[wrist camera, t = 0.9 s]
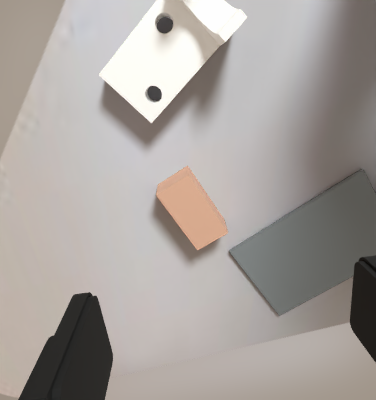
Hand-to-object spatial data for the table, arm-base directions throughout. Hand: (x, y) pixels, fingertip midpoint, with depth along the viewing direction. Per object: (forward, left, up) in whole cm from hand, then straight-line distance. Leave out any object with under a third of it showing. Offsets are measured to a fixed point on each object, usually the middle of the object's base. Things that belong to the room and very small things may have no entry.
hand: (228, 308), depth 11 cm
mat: (-5, +22, -29) cm, 37 cm away
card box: (+5, +6, -29) cm, 30 cm away
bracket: (-3, -10, -29) cm, 31 cm away
